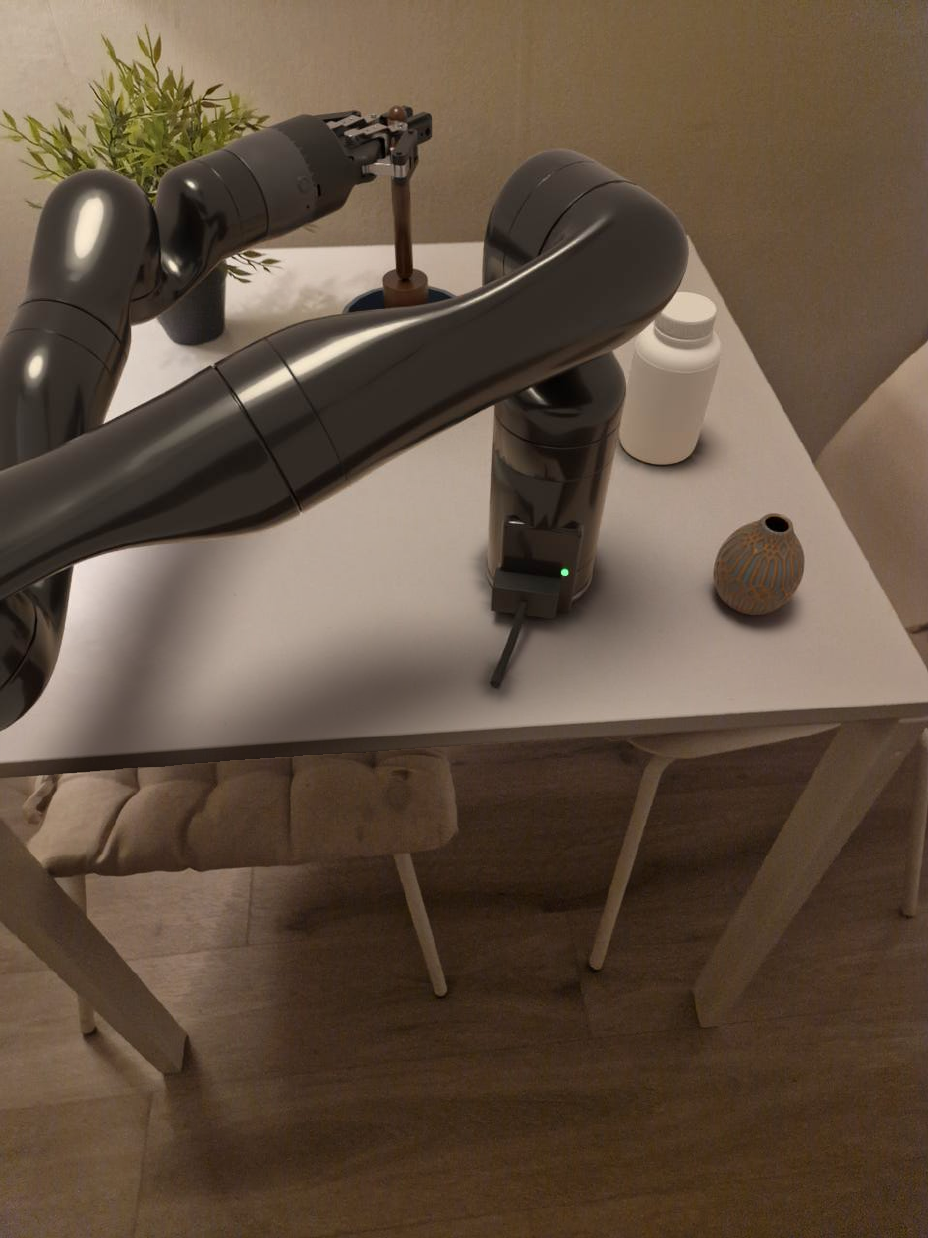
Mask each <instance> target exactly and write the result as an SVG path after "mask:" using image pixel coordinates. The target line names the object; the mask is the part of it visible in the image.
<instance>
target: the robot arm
mask: <svg viewBox="0 0 928 1238" xmlns="http://www.w3.org/2000/svg"><path fill="white" fill-rule="evenodd" d="M400 106H401V105H400ZM401 107H403V108H404V110H405V111H406V114H407V119H405V120H402V121H399V122H398V123H395V124H392V125H390V126H388V122H387V114H388V111H386V112H383V113H382V114H379V113H376V112H371V113H368V114H366V115H364V116H362V112H361V111H359V110H356V109H352V110H346V111H339V112H331V113H324V114H323V113H322V114H314V115H312V114H308V113H307V114H304V113H303V114H299V115H296V116H294V117H291V118H288V119H286V120H283V121H280V122H278V123H275V124H273V125H270V126H267V127H265V128H261V129H259V130H256V131H254V132H251V133H248V134H246V135H243V136H241V137H238V138H236V139H235V140H232V141H231V142H229V143H228V144H226V145H225V146H224V147H221V148H219V149H217V150H215V151H212V152H209V153H207V154H203V155H200V156H198V157H196V158H193V159H191V160H187V161H185V162H183V163H180V164H179V165H176V166H174V167H171V168H170V169H168V170H167V171H166V172H165V173H164V174H163V175H162V177H161V178H160V180H159V182H158V185H157V190H156V194H155V199H154V205H153V204H152V201H151V200H150V198H149V197H148V195H147V194H146V192H144V190H143V189H142V188H141V187H140V186H139V185H138V184H137V183H136V182H134V181H133V180H132V179H131V178H130V177H127V176H126V175H123V174H121V173H119V172H117V171H114V170H110V169H105V168H89V169H83V170H80V171H77V172H75V173H72V174H70V175H69V176H67V177H65V178H64V179H62V180H61V181H60V182H58V184H57V185H56V186H55V187H54V188H53V189H52V190H51V192H50V193H49V195H48V196H47V198H46V200H45V202H44V203H43V206H42V208H41V212H40V215H39V219H38V222H37V226H36V229H35V230H36V231H35V235H34V240H33V244H32V250H31V254H30V259H29V264H28V273H27V280H26V287H25V292H24V294H23V295H24V296H23V298H22V299H21V302H20V303H19V305H18V306H17V309H16V310H15V312H14V314H13V316H12V318H11V320H10V321H9V324H8V326H7V328H6V330H5V332H4V334H3V336H2V339H0V340H1V341H0V732H2V731H5V730H6V729H8V728H10V727H11V726H12V725H14V724H16V723H17V722H18V721H19V720H20V719H22V718H23V717H25V715H26V714H27V713H28V712H29V711H30V710H31V708H33V707H34V706H35V705H36V704H37V702H38V701H39V700H40V698H41V697H42V695H43V694H44V692H45V690H46V688H47V686H48V685H49V683H50V681H51V678H52V676H53V674H54V672H55V668H56V666H57V662H58V659H59V655H60V652H61V648H62V643H63V638H64V633H65V629H66V623H67V622H66V621H67V617H68V615H67V614H68V608H69V601H70V595H71V588H72V582H73V574H74V569H75V565H78V564H81V563H83V562H86V561H88V560H91V559H94V558H98V557H100V556H103V555H107V554H111V553H115V552H119V551H124V550H128V549H135V548H145V547H152V546H161V545H163V546H164V545H172V544H174V545H175V544H184V543H185V544H186V543H198V542H206V541H216V540H224V539H233V538H239V537H245V536H251V535H255V534H259V533H263V532H267V531H269V530H272V529H275V528H277V527H280V526H282V525H284V524H286V523H288V522H290V521H292V520H294V519H296V518H298V517H299V516H301V514H304V513H306V512H308V511H310V510H312V509H314V508H315V507H317V506H319V505H320V504H322V503H324V502H326V501H327V500H329V499H331V498H332V497H335V496H336V495H338V494H340V493H341V492H343V491H344V490H345V491H346V489H348V488H349V487H352V486H353V485H354V484H356V483H358V482H360V481H361V480H362V479H364V478H365V477H367V476H368V475H371V474H373V472H375V471H376V470H378V469H380V468H381V467H383V466H384V465H386V464H388V463H389V462H391V461H393V460H395V459H396V458H398V457H400V456H402V455H404V454H405V453H407V452H409V451H411V450H412V449H415V448H416V447H418V446H420V445H422V444H424V443H426V442H427V441H429V440H431V439H433V438H435V437H437V436H439V435H441V434H443V433H444V432H446V431H448V430H451V428H453V427H456V426H457V425H460V424H461V423H463V422H465V421H466V420H468V419H470V418H471V417H474V416H475V415H477V414H479V413H481V412H484V411H486V410H487V409H489V408H491V407H493V421H492V422H493V423H492V442H491V443H492V445H491V466H490V469H491V470H490V487H489V490H490V492H489V512H488V513H489V515H488V534H487V535H488V537H487V539H488V540H487V556H486V562H485V568H486V569H485V572H486V576H487V579H488V583H490V585H491V605H490V611H492V612H498V613H499V612H500V613H505V614H514V615H515V616H514V619H513V623H512V626H511V628H510V632H509V634H508V637H507V640H506V643H505V646H504V648H503V651H502V653H501V655H500V658H499V660H498V662H497V664H496V667H495V669H494V672H493V674H492V676H491V679H490V681H489V683H490V685H491V686H493V687H494V688H495V687H499V686H500V683H501V680H502V678H503V676H504V673H505V671H506V668H507V666H508V664H509V661H510V660H511V657H512V654H513V653H514V649H515V648H516V644H517V641H518V638H519V635H520V633H521V629H522V626H523V623H524V620H525V617H526V616H529V617H537V618H544V619H552V620H555V619H556V614H557V612H558V613H565V614H566V613H570V612H571V608H572V604H573V603H574V602H576V601H578V600H579V599H580V598H582V597H583V595H584V594H586V592H587V591H588V589H589V587H590V586H591V584H592V580H593V575H594V563H595V559H596V553H597V547H598V541H599V536H600V531H601V526H602V521H603V515H604V511H605V505H606V500H607V496H608V495H607V494H608V490H609V485H610V484H609V483H610V479H611V474H612V469H613V463H614V458H615V452H616V448H617V444H618V439H619V430H620V423H621V418H622V414H623V409H624V403H625V397H626V391H627V380H626V376H625V372H624V370H623V367H622V365H621V363H620V361H619V360H618V358H617V356H616V355H615V353H614V351H615V350H617V349H618V348H620V347H622V346H623V345H625V344H626V343H628V342H629V341H631V340H632V339H634V338H636V336H637V335H638V336H639V334H640V332H642V331H643V330H644V329H645V328H646V327H647V326H649V325H650V324H651V323H652V322H654V320H655V319H656V318H657V317H658V316H659V315H660V314H661V312H662V311H663V310H664V309H665V307H666V306H667V305H668V304H669V302H670V301H671V300H672V298H673V296H674V295H675V293H676V292H678V290H679V288H680V286H681V284H682V282H683V279H684V277H685V274H686V271H687V268H688V262H689V254H690V247H689V240H688V236H687V234H686V233H687V232H686V230H685V228H684V226H683V224H682V222H681V221H680V219H679V217H677V215H676V214H675V213H674V211H673V210H671V209H670V207H668V206H667V205H666V204H665V203H664V202H663V201H662V200H660V199H659V198H658V197H657V196H656V195H654V194H653V193H651V191H649V190H647V189H646V188H644V187H642V186H640V185H639V184H637V183H635V182H634V181H632V180H630V179H629V178H626V177H625V176H624V175H622V174H620V173H618V172H617V171H615V170H613V169H611V168H609V167H608V166H606V165H605V164H603V163H601V162H599V161H597V160H596V159H595V158H592V157H590V156H588V155H586V154H584V153H583V152H579V151H577V150H573V149H570V148H563V147H562V148H561V147H560V148H559V147H558V148H550V149H545V150H543V151H539V152H537V153H535V154H533V155H531V156H529V157H528V158H526V159H525V160H524V161H522V162H521V163H520V164H519V165H518V166H517V167H516V168H515V169H514V170H513V171H512V172H511V174H509V176H508V177H507V178H506V180H505V182H504V183H503V184H502V187H501V188H500V190H499V191H498V193H497V195H496V198H495V200H494V202H493V205H492V207H491V209H490V213H489V216H488V220H487V224H486V227H485V228H486V229H485V232H484V233H485V234H484V240H483V249H482V268H481V276H482V277H481V280H482V281H481V286H480V287H478V288H476V289H473V290H471V291H469V292H466V293H463V294H460V295H456V296H457V297H454V298H451V299H447V300H443V301H439V302H435V303H429V304H422V305H415V306H408V307H398V308H388V309H378V310H368V311H359V312H351V313H343V314H341V313H335V314H330V315H324V316H319V317H315V318H310V319H309V318H308V319H305V320H301V321H299V322H295V323H291V324H289V325H286V326H284V327H281V328H279V329H277V330H275V331H272V332H270V333H268V334H266V335H264V336H262V337H261V338H259V339H256V340H255V341H253V342H251V343H249V344H248V345H246V346H243V347H242V348H240V349H239V350H237V351H236V350H235V352H233V353H231V354H229V355H227V356H225V357H223V358H221V359H220V360H217V361H216V362H213V364H212V365H210V364H209V365H207V366H206V367H204V368H203V369H201V370H199V371H198V372H196V373H195V374H193V375H191V376H189V377H187V378H186V379H184V380H183V381H181V382H179V383H177V384H176V385H174V386H172V387H171V388H168V389H167V390H165V391H163V392H162V393H160V394H158V395H156V396H155V397H153V398H151V399H148V400H146V401H145V402H143V403H141V404H139V405H137V406H135V407H133V408H132V409H129V410H128V411H126V412H124V413H121V414H119V415H118V416H116V417H114V418H111V419H110V420H108V421H106V418H107V415H108V412H109V410H110V407H111V404H112V403H113V399H114V397H115V394H116V392H117V388H118V386H119V383H120V381H121V378H122V376H123V373H124V370H125V367H126V364H127V362H128V360H129V356H130V351H131V346H132V327H135V326H140V325H144V324H145V323H148V322H151V321H152V320H155V319H157V318H159V317H160V316H161V315H164V313H166V312H167V311H169V310H170V309H172V307H174V306H176V304H177V303H179V301H181V300H182V299H183V298H184V297H185V296H187V294H189V292H191V291H192V290H193V289H194V288H195V287H196V286H197V285H199V284H200V283H201V282H202V281H203V280H204V279H205V278H206V277H207V276H208V275H209V274H210V273H211V272H212V270H214V269H215V268H216V267H217V266H218V265H219V264H220V263H221V262H222V261H225V260H227V259H230V258H232V257H234V256H236V255H238V254H240V253H242V252H245V251H247V250H249V249H251V248H253V247H255V246H258V245H260V244H262V243H265V242H269V241H273V240H277V239H279V238H282V237H285V236H287V235H289V234H292V233H293V232H296V231H298V230H300V229H302V228H305V227H306V226H308V225H311V224H313V223H314V222H317V221H319V220H321V219H323V218H325V217H327V216H330V215H332V214H334V213H337V212H338V211H340V210H341V209H342V208H343V207H344V206H345V205H346V203H347V201H348V199H349V198H350V195H351V192H352V191H353V189H354V188H355V186H358V185H362V184H367V183H371V182H373V181H375V180H376V179H377V177H378V176H383V177H384V176H385V177H390V180H391V179H393V183H394V185H395V186H397V187H403V186H406V185H407V184H408V182H409V180H410V181H411V178H412V176H413V174H414V172H415V170H416V168H417V167H418V165H419V162H420V160H419V157H420V156H419V147H418V146H419V145H422V144H424V143H426V142H428V141H430V140H432V138H433V115H432V114H431V113H430V112H426V111H420V112H419V113H416V114H414V111H413V108H412V107H410V106H407V105H405V104H404V105H402V106H401ZM393 137H394V144H395V148H394V147H391V139H392V138H393ZM105 421H106V422H105Z"/></svg>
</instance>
